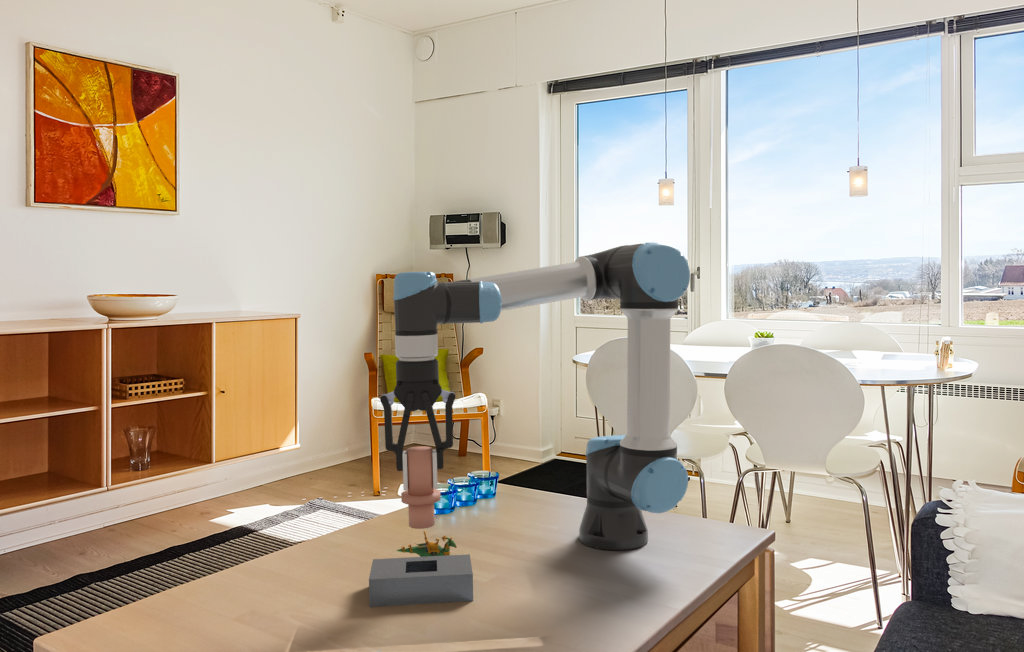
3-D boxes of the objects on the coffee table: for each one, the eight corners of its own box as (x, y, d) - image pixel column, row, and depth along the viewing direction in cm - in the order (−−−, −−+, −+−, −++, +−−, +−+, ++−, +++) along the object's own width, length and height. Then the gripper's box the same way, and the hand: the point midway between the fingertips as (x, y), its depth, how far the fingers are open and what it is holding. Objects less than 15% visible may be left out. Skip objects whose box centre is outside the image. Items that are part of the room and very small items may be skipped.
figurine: (458, 571, 152) (457, 530, 151) (397, 576, 149) (396, 535, 149) (455, 565, 155) (455, 526, 154) (396, 571, 152) (395, 530, 152)
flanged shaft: (440, 517, 142) (438, 444, 141) (441, 529, 135) (439, 452, 134) (402, 519, 141) (400, 445, 140) (401, 531, 134) (399, 454, 133)
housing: (470, 585, 144) (469, 554, 144) (473, 607, 134) (472, 573, 134) (373, 590, 142) (373, 559, 142) (369, 613, 132) (368, 579, 132)
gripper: (465, 355, 141) (468, 480, 142) (368, 358, 139) (372, 484, 140) (467, 358, 133) (470, 490, 135) (365, 362, 132) (369, 495, 133)
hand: (420, 487), depth 137 cm, fingers closed on flanged shaft, 5 cm apart
